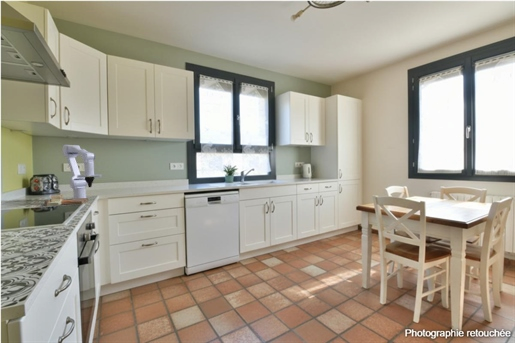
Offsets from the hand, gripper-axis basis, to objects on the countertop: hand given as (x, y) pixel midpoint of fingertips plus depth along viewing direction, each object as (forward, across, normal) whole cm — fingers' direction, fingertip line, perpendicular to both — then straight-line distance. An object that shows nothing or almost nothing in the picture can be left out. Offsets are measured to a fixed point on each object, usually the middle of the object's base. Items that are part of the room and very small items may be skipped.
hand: (90, 187), depth 173 cm
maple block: (+8, -18, -5) cm, 21 cm away
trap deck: (+10, -12, -5) cm, 17 cm away
